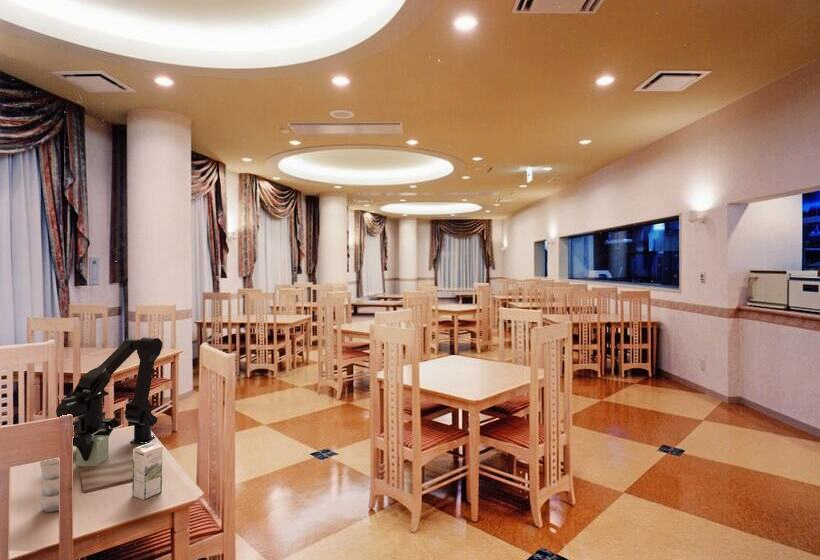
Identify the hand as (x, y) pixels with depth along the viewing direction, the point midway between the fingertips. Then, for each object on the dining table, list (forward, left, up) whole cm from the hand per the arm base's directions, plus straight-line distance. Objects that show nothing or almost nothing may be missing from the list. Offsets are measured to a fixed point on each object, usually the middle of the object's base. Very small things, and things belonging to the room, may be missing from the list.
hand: (92, 456), depth 158 cm
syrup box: (+22, +29, -2) cm, 36 cm away
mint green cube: (0, 0, -2) cm, 2 cm away
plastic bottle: (+30, +8, -2) cm, 31 cm away
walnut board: (+10, +12, -2) cm, 16 cm away
